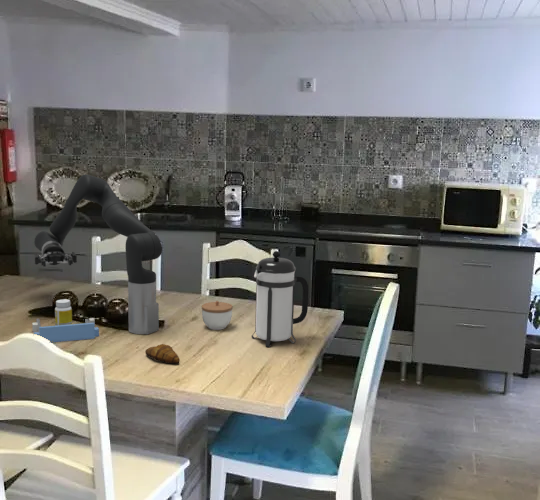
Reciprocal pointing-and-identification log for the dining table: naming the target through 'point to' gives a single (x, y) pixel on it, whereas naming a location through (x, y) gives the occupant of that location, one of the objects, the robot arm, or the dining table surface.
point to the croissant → (163, 354)
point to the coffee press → (277, 299)
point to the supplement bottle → (63, 312)
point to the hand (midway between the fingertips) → (57, 263)
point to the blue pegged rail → (67, 331)
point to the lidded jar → (217, 314)
